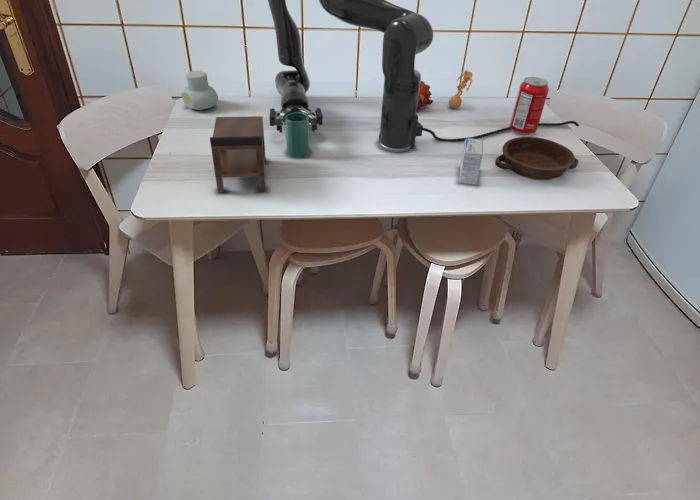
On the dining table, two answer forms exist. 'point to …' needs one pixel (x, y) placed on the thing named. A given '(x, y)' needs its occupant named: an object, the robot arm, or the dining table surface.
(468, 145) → the medicine box
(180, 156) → the dining table surface
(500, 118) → the dining table surface
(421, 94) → the dragon fruit
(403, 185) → the dining table surface
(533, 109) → the soda can
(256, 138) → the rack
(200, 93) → the air freshener
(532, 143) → the dish
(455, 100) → the figurine
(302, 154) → the tumbler
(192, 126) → the dining table surface
